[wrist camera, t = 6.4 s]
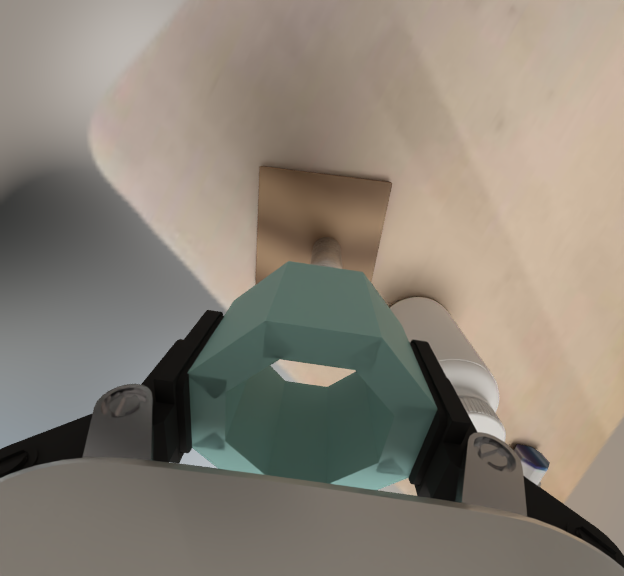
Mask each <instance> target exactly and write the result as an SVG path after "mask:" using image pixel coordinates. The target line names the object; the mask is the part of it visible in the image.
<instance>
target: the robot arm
mask: <svg viewBox="0 0 624 576" xmlns="http://www.w3.org/2000/svg"><path fill="white" fill-rule="evenodd" d="M223 317H224V316H223V313H222V312H218V311H211V310H207V311H206V312H205V313H204V315H203V316H202V317H201V318H200V320H199V321H198V322H197V324H196V325H195V326H194V327H193V329H192V330H191V332H190V333H189V334H188V335H187V336H186V338H185V339H184V340H182V339H180V340H177V341H176V342H175V344H174V345H173V346H172V347H171V348H170V350H169V351H168V352H167V353H166V355H165V356H164V357H163V358H162V360H161V361H160V362H159V363H158V365H157V366H156V367H155V368H154V370H153V371H152V372H151V373H150V374H149V376H148V377H147V378H146V379H145V380H144V382H143V383H142V384H141V385H140V384H127V385H123V386H119V387H117V388H114V389H112V390H110V391H108V392H107V393H106V394H104V395H103V396H102V397H101V398H100V399H99V400H98V401H97V403H96V405H95V407H94V410H93V414H90V415H87V416H85V417H82V418H80V419H77V420H74V421H72V422H69V423H67V424H64V425H61V426H59V427H56V428H53V429H51V430H48V431H46V432H43V433H41V434H38V435H35V436H32V437H30V438H27V439H25V440H22V441H19V442H17V443H14V444H11V445H9V446H7V447H4V448H2V449H0V576H624V555H623V554H622V553H621V551H620V550H619V549H618V547H617V546H616V545H615V544H614V543H613V542H612V541H611V540H610V539H609V538H608V537H607V536H606V535H605V534H604V533H603V532H601V531H600V530H599V529H598V528H596V527H595V526H594V525H592V524H590V523H589V522H588V521H586V520H585V519H584V518H582V517H581V516H579V515H578V514H577V513H575V512H574V511H573V510H571V509H569V508H568V507H567V506H565V505H564V504H563V503H561V502H560V501H558V500H557V499H556V498H554V497H553V496H551V495H550V494H549V493H547V492H546V491H544V490H543V489H542V488H540V487H539V486H537V485H536V484H535V483H533V482H532V481H530V480H529V479H527V478H526V477H525V476H523V467H522V464H521V460H520V459H519V457H518V456H517V454H516V453H515V452H514V451H513V449H512V448H511V447H510V446H509V445H507V444H506V443H505V442H503V441H502V440H500V439H499V438H497V437H495V436H493V435H490V434H487V433H482V432H477V430H476V428H475V426H474V424H473V423H472V421H471V419H470V417H469V415H468V413H467V411H466V410H465V408H464V406H463V404H462V402H461V400H460V398H459V397H458V395H457V393H456V391H455V389H454V387H453V385H452V384H451V382H450V380H449V379H448V378H447V377H446V375H445V373H444V371H443V369H442V367H441V366H440V364H439V362H438V360H437V358H436V356H435V354H434V352H433V351H432V349H431V347H430V345H429V343H428V342H427V341H420V340H412V341H411V342H410V346H411V348H412V350H413V353H414V355H415V357H416V360H417V362H418V364H419V367H420V369H421V371H422V374H423V376H424V378H425V381H426V383H427V385H428V388H429V390H430V392H431V395H432V397H433V399H434V402H435V404H436V406H437V411H436V414H435V416H434V418H433V421H432V423H431V425H430V428H429V430H428V433H427V435H426V437H425V440H424V442H423V444H422V447H421V449H420V451H419V454H418V456H417V459H416V461H415V463H414V466H413V468H412V470H411V473H410V475H409V481H410V483H411V484H415V488H416V492H417V496H413V495H406V494H399V493H392V492H384V491H378V490H371V489H364V488H357V487H350V486H343V485H335V484H328V483H321V482H314V481H307V480H299V479H292V478H285V477H277V476H270V475H263V474H255V473H247V472H240V471H232V470H225V469H216V468H209V467H202V466H194V465H186V464H178V463H179V462H180V460H181V458H182V456H183V454H184V453H189V452H190V450H191V448H192V431H191V410H190V389H189V374H188V371H189V370H190V368H191V367H192V365H193V364H194V362H195V360H196V359H197V357H198V356H199V354H200V353H201V351H202V350H203V348H204V347H205V345H206V344H207V342H208V340H209V339H210V337H211V336H212V334H213V333H214V331H215V330H216V328H217V327H218V325H219V324H220V322H221V320H222V319H223ZM169 462H173V463H169Z"/></svg>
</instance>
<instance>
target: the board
mask: <svg viewBox="0 0 624 576" xmlns="http://www.w3.org/2000/svg"><path fill="white" fill-rule="evenodd" d="M391 187H392V183H391V182H386V181H378V180H370V179H362V178H354V177H346V176H338V175H330V174H321V173H313V172H305V171H297V170H289V169H281V168H273V167H265V166H261V167H260V171H259V199H258V228H257V256H256V284H258V283H259V282H260V281H262V280H263V279H264V278H266V277H267V276H269V275H270V274H271V273H273V272H274V271H276V270H277V269H278V268H280V267H281V266H282V265H284V264H285V263H287V262H288V261H292V262H299V263H305V264H310V261H311V256H312V250H313V246H314V244H315V242H316V241H317V240H319V239H320V238H323V237H331V238H333V239H335V240H336V241H337V242H338V243H339V245H340V248H341V257H342V266H343V269H346V270H353V271H360V272H363V273H364V274H365V275H366V277H367V278H368V279H369V281H370V282H371V280H372V276H373V271H374V266H375V262H376V257H377V252H378V248H379V243H380V238H381V234H382V229H383V224H384V220H385V215H386V210H387V206H388V201H389V196H390V192H391ZM256 284H255V285H256Z"/></svg>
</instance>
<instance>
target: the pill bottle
mask: <svg viewBox="0 0 624 576" xmlns="http://www.w3.org/2000/svg"><path fill="white" fill-rule="evenodd" d="M390 309H391V311H392V312H393V314H394V315H395V316H396V318H397V319H398V320H399V322H400V323H401V324H402V327H403V329H404V331H405V334H406V336H407V338H408V341H409V343H410V342H411V341H412V340H420V341H427V342H428V343H429V345H430V347H431V349H432V351H433V352H434V354H435V356H436V358H437V360H438V362H439V364H440V366H441V367H442V369H443V371H444V373H445V375H446V377H447V378H448V379H449V380H450V382H451V384H452V385H453V387H454V389H455V391H456V393H457V395H458V397H459V398H460V400H461V402H462V404H463V406H464V408H465V410H466V411H467V413H468V415H469V417H470V419H471V421H472V423H473V424H474V426H475V428H476V430H477V432H482V433H487V434H490V435H493V436H495V437H497V438H499V439H500V440H502V441H503V442H505V437H506V433H505V429H504V427H503V425H502V423H501V421H500V420H499V418H498V416H497V415H496V413H495V412H496V410H497V408H498V404H499V390H498V386H497V382H496V380H495V378H494V376H493V375H492V373H491V372H490V370H489V369H488V368H487V366H486V365H485V363H484V362H483V360H482V359H481V358H480V356H479V355H478V353H477V352H476V351H475V349H474V348H473V346H472V345H471V344H470V342H469V341H468V339H467V338H466V336H465V335H464V334H463V332H462V331H461V329H460V328H459V327H458V325H457V324H456V322H455V321H454V319H453V318H452V317H451V315H450V314H449V312H448V311H447V310H446V309H445V308H444V307H443V306H442V305H441V304H439V303H438V302H436V301H434V300H432V299H429V298H424V297H412V298H407V299H404V300H401V301H399V302H397V303H395V304H394V305H393V306H391V307H390Z"/></svg>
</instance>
